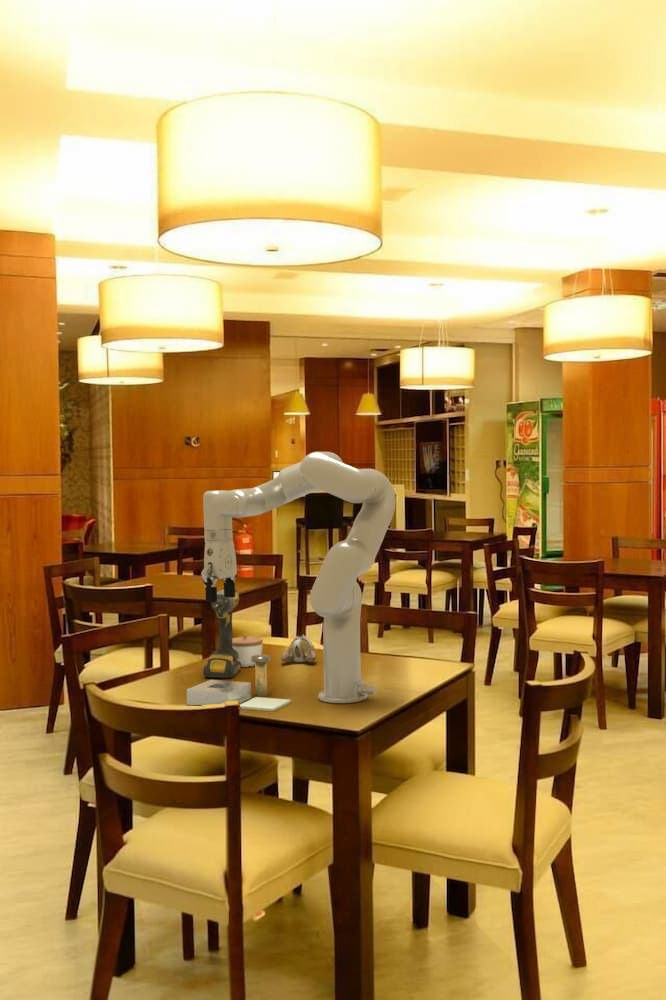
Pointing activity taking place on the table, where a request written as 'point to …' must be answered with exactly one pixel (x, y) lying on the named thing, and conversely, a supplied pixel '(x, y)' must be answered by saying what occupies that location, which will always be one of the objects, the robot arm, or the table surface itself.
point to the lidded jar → (247, 649)
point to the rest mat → (264, 704)
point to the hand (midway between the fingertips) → (220, 599)
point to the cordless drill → (224, 640)
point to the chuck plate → (218, 692)
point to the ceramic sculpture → (299, 650)
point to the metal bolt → (261, 673)
